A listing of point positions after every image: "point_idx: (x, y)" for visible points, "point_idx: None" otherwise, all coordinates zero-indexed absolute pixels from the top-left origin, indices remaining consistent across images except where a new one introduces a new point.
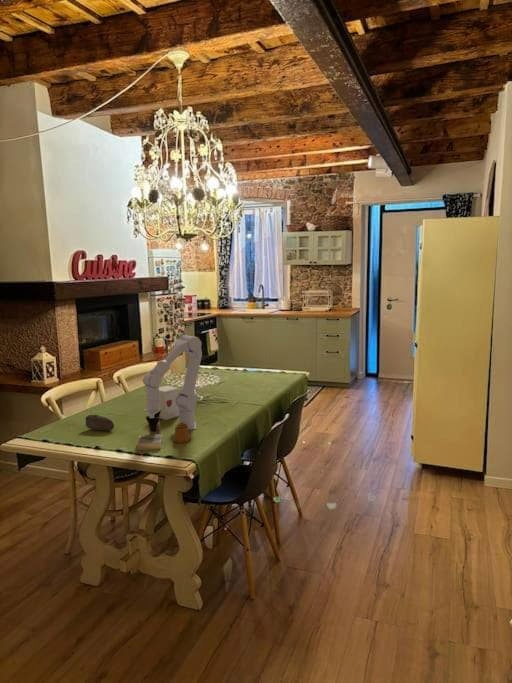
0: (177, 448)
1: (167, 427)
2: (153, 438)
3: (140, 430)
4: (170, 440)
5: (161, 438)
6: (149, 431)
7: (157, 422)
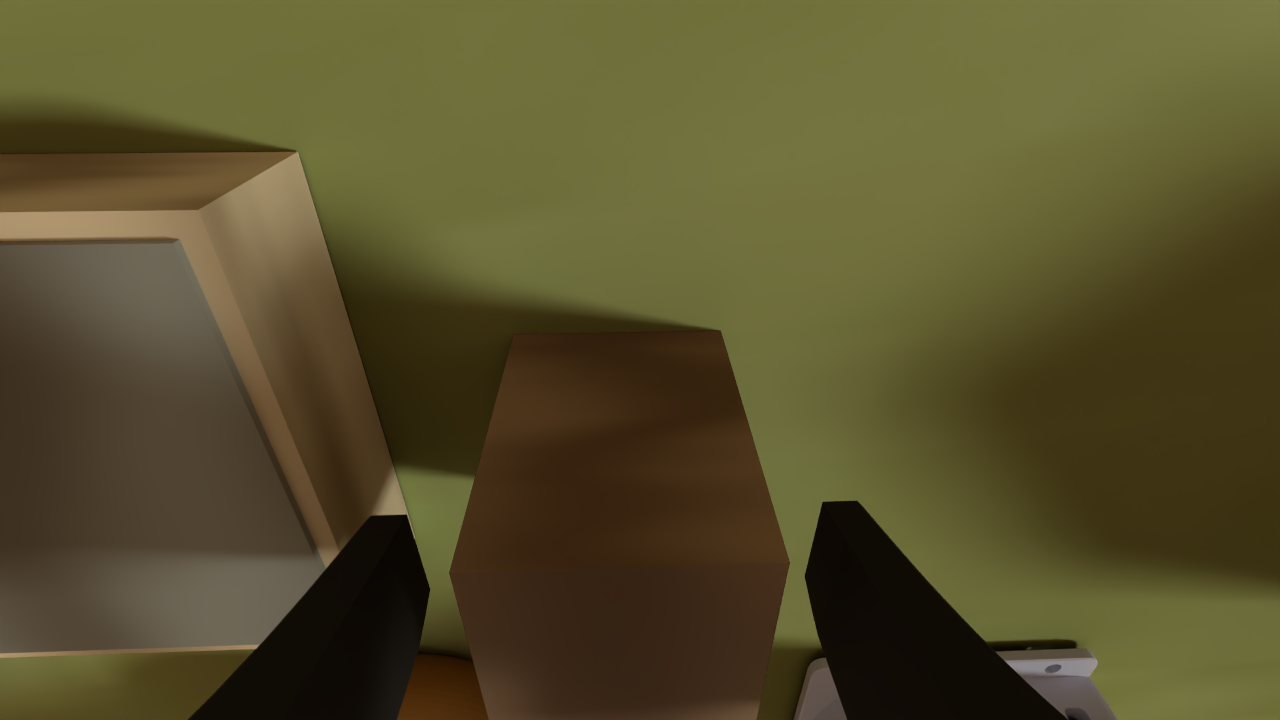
0: (141, 692)
1: (1029, 530)
2: (47, 558)
3: (1170, 19)
4: None
5: (152, 645)
6: (486, 441)
7: (747, 696)
